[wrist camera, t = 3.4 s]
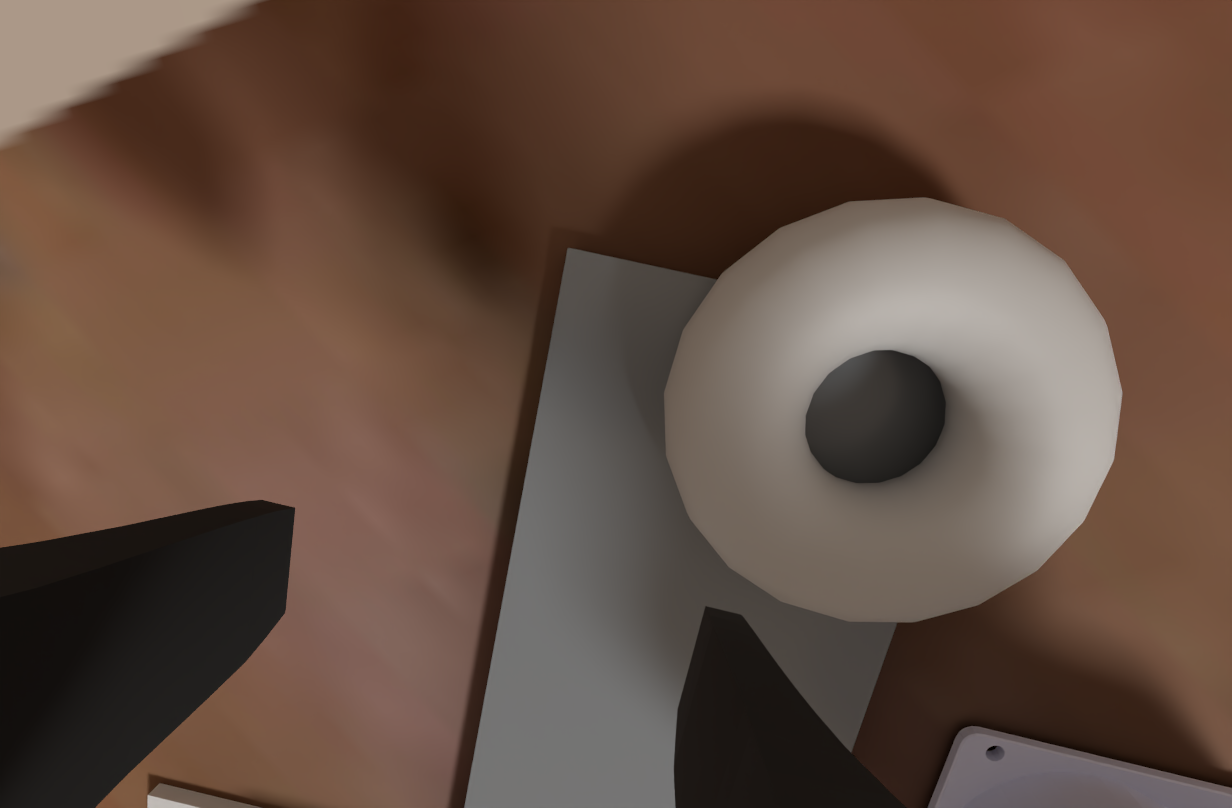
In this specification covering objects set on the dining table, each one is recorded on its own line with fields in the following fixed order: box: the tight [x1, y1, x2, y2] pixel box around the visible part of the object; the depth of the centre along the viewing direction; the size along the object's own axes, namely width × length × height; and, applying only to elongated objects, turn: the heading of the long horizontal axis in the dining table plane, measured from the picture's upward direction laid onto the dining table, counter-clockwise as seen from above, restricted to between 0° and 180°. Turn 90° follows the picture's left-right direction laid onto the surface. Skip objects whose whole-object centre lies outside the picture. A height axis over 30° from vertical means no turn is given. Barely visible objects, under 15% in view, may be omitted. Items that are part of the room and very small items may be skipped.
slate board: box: [464, 248, 946, 808], centre depth 19 cm, size 11×22×1 cm, turn 168°
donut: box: [664, 197, 1122, 622], centre depth 15 cm, size 10×4×10 cm
